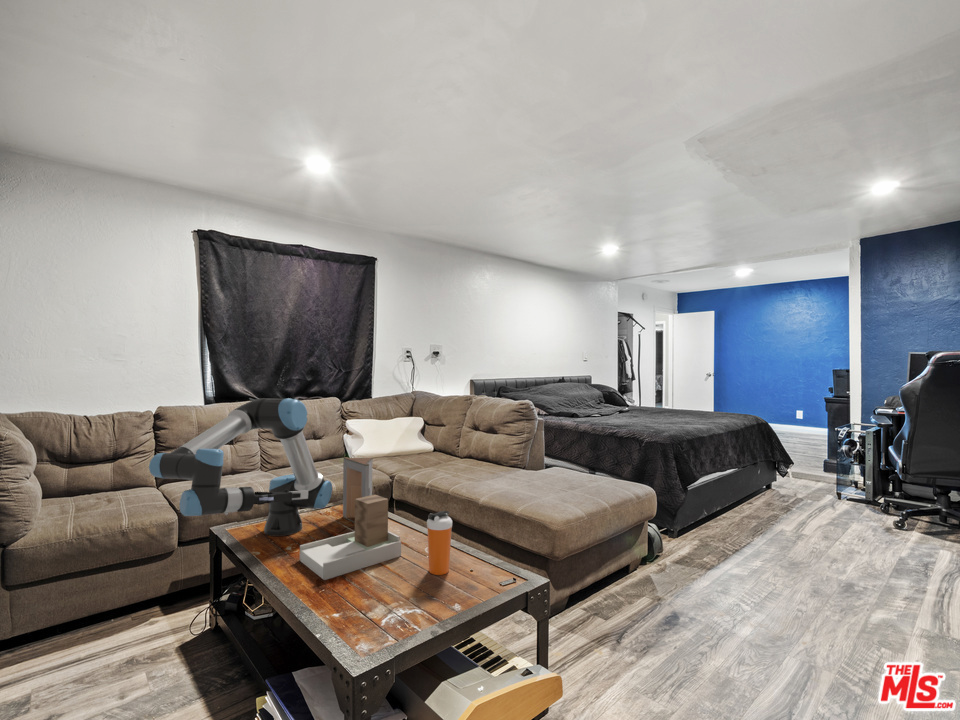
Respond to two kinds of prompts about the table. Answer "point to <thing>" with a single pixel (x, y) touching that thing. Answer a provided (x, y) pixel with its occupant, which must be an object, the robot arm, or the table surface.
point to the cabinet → (355, 483)
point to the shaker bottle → (439, 542)
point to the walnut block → (371, 520)
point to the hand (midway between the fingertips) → (307, 494)
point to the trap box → (346, 554)
